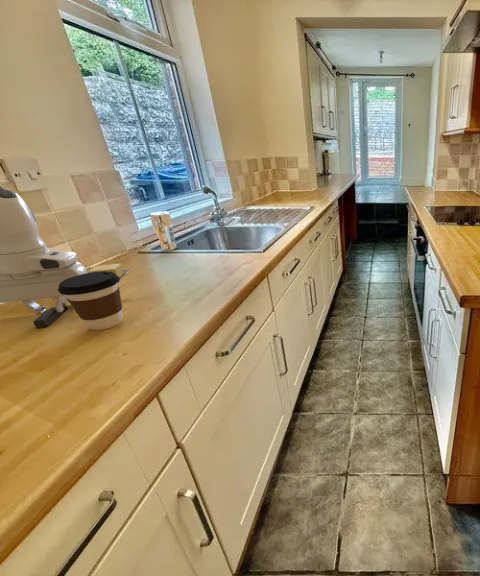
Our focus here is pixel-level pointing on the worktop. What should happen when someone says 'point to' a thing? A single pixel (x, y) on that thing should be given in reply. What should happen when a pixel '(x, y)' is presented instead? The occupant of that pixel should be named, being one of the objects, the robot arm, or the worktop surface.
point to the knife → (49, 316)
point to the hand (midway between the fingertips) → (50, 312)
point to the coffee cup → (94, 298)
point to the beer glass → (164, 230)
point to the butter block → (109, 269)
